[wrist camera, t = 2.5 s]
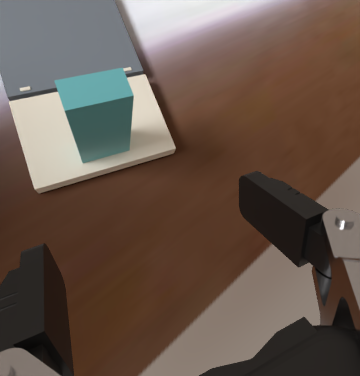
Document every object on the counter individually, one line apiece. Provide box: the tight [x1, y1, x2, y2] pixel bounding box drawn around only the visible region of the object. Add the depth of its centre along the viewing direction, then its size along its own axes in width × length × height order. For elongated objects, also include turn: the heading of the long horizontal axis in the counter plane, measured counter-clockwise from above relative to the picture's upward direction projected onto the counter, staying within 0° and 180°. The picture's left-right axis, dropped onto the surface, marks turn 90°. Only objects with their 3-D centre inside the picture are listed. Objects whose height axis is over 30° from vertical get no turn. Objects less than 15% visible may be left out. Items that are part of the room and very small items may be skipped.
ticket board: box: [0, 0, 143, 101], centre depth 27 cm, size 12×14×1 cm
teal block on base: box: [9, 68, 176, 193], centre depth 21 cm, size 12×8×9 cm, turn 112°
